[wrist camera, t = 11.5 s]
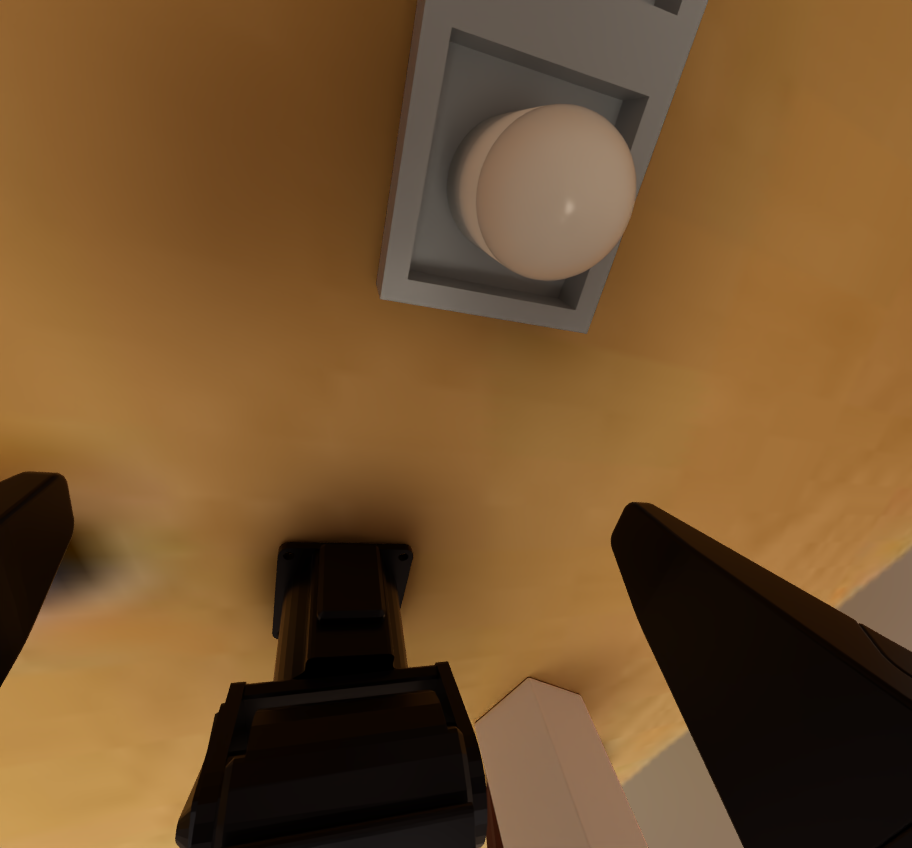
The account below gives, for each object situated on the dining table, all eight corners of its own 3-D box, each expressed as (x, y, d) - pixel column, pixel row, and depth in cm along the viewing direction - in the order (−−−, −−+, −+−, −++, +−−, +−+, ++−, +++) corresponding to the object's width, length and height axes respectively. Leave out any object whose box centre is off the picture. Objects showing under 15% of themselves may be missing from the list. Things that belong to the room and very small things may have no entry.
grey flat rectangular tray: (565, 317, 20) (586, 333, 18) (376, 284, 18) (380, 299, 16) (782, -325, 12) (853, -399, 11) (495, -535, 10) (527, -675, 8)
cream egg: (545, 263, 18) (629, 310, 13) (435, 240, 17) (478, 282, 12) (584, 133, 16) (702, 127, 11) (463, 95, 15) (531, 68, 10)
